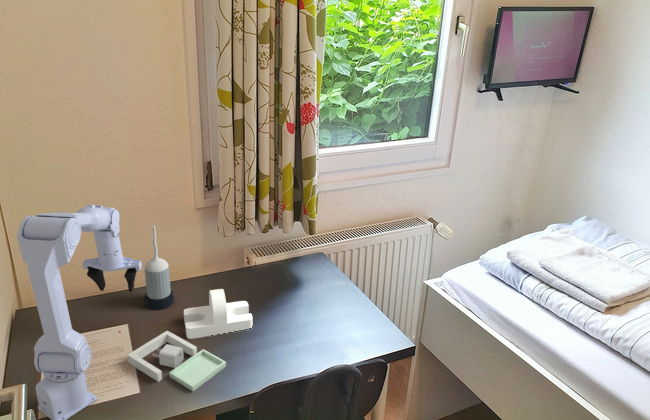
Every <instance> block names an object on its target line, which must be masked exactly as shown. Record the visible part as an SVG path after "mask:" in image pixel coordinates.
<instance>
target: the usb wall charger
mask: <svg viewBox="0 0 650 420" xmlns="http://www.w3.org/2000/svg"><path fill="white" fill-rule="evenodd" d="M156 351H157V352H159V353H158V354H156V353H152V352H151V353H152V354H151V355H152V357H154V358H159V365H160V366H164V367H168V368H171V369H175V368H176V367H178V366H179V365H181V364H182V363H183V362H184V359H185V357H184V355H185V354H184V351H183V348H180V347H176V346H173V345H171V344H169V343H168V344H167V343H165V344H164V347H163V348H157V349H156Z"/></svg>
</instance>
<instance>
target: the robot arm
mask: <svg viewBox="0 0 650 420" xmlns="http://www.w3.org/2000/svg"><path fill="white" fill-rule="evenodd" d="M120 220H121V219H120V212H119V210H118V209H115V207H107V206H103V205H99V204H98V205H97V204H96V205H95V204H85V207H81V208H79V209H78V210H77V211H76V212H66V211H65V212H64V211H63V212H61V211H59V212H58V211H57V212H56V211H55V212H46V213H45V212H44V213H38V214H37V213H36V214H35V215H26V216H25V217H24V218H23V219H22V221H21V222H20V225H19V227H18V231H17V235H16V239H17V242H18V246H19V250H20V254H21V258H22V261H23V262H24V263H25V264H27V265H26V266H27V272H28V276H29V280H30V283H31V288H32V292H33V295H34V300H35V303H36V308H37V311H38V316H39V320H40V324H41V328H42V331H43V334H42V335H41V336H40V337H39V338H38V339H37V341H36V343H35V345H34V347H33V351H34V358H33V364H34V367H35V369H36V372H38V373H39V372H40V373H42V375H43V378H42V379H41V380H40V381H39V382H37V384H35V393H36V397H37V402H38V406H37V409H38V410H39V411H41V412H42V413H43V414H44V415H45V416H47V418H49V419H50V420H68V419H70V418H71V417H73V416H74V415H76V414H78V413H79V412H80V411H82V410H83V409H86V407H88V406H90V405H91V404H93V403H94V402H96V401H97V399H98V397H97V395H96V394H94V393H92V392H91V391H89V389H88V384H87V378H86V370H88V368H89V366H90V363H91V359H92V349H91V347H90V345H89V344H88V342H87V339H86V337H85V336H84V335H82V334H81V333H79V332H78V331H76V330H74V329H73V327H72V326H73V325H72V322H71V317H70V313H69V309H68V304H67V299H66V294H65V290H64V285H63V282H62V281H63V280H62V275H61V272H60V268H62V267H63V266H66V265H68V264H70V261H71V259H72V257H73V256H74V253H75V251H76V249H77V247H78V244H79V243H80V241H81V235H82V232H84V233H88V232H89V233H91V232H93V233H92V235H93V238H94V241H95V247H96V250H97V251H96V252H97V255H98V257H94V258H84V260H83V262H82V263H81V264H82V267H83V269H84V270H87V272H86V276H87V277H88V278H90V279H91V280H92V281H93V282H94V283H95V284H96V286H97V287H98V289H99V290H100V292H104V290H105V288H106V280H105V276H104V272H115V271H122V270H126V271H125V272H124V278H125V280H126V283H127V287H128V288H127V289H128V291H129V292H133V291H134V289H135V280H136V275H137V272H139V271H141V270H142V266H143V264H142V260H138V259H133V258H130V257H126V256H124V255H123V251H122V245H121V240H120V235H119V233H120V228H121V227H120Z"/></svg>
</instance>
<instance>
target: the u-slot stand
mask: <svg viewBox="0 0 650 420" xmlns="http://www.w3.org/2000/svg"><path fill="white" fill-rule="evenodd" d="M225 294H226V293H225V290H224V289H223V288H217V289H211V290H209V291H208V302H209V303H208V304H209V305H204V306H202V305H201V306H196V307H194V306H193V307H188V308H184V310H183V321H184V323H183V324H184V325H185V337H186V338H187V339H188V340H189V339H191V340H192V339H199V338H205V337H206V336H207V337H212V336H211V335H213V336H218V335H217V334H220V335H224V334H223V333H226V334H229V333H228V332H233V333H235V332H234V331H239V330H245V329H249V328H252V326H253V323H254V321H253V319H254V317H253V315H252V313H251V312H250V305H249V302H248V301H246V300H239V301H233V302H227V300H226V295H225ZM249 312H250V313H249ZM252 329H253V328H252ZM239 332H240V331H239ZM207 337H206V338H207Z"/></svg>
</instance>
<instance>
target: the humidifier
mask: <svg viewBox="0 0 650 420" xmlns="http://www.w3.org/2000/svg"><path fill="white" fill-rule="evenodd" d="M150 235H151V238H152V242H151V245H152V247H153V248H151V250H152V252H153V251H154V252H153V255H152V258H150V259H149V260H148V261H147V262H146V263H145V266H144V276H145V278H144V279H145V287H146V292H145V294H144V305H145V307H146V308H147V309H149V310H151V311H152V310H153V311H163V310H166V309H168V308H170V307H172V305H174V302H175V295H174V292H173V290H172V289H171V288H172V287H171V277H170V266H169V263H168V262H167V261H166V259H164V258H162V257H159V256H158V245H157V232H156V225H152V232H150ZM153 249H154V250H153Z"/></svg>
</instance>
